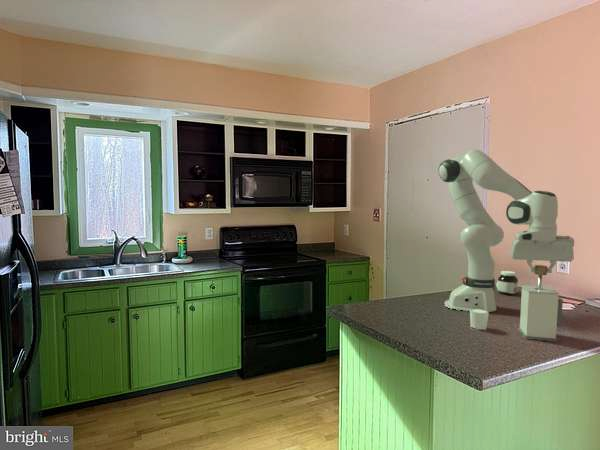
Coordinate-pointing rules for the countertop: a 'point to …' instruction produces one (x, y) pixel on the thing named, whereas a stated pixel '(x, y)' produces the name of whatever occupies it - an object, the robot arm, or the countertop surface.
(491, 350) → the countertop surface
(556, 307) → the block
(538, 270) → the plunger
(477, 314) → the shot glass
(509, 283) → the spread jar
